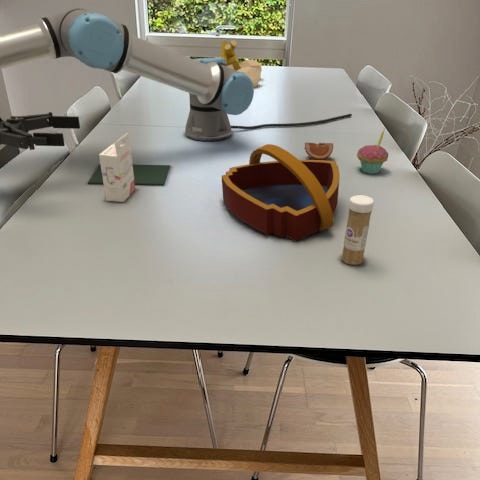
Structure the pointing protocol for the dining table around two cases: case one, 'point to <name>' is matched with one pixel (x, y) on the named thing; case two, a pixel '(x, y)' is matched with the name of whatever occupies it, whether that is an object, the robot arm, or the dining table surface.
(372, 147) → the cupcake
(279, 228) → the decorative basket
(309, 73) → the dining table surface
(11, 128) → the robot arm
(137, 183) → the mat
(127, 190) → the ink cartridge box
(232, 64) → the campfire
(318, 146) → the fruit slice
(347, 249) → the sprinkles bottle
